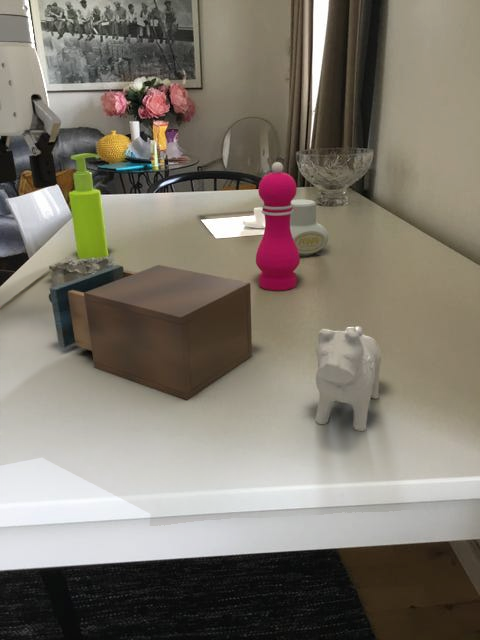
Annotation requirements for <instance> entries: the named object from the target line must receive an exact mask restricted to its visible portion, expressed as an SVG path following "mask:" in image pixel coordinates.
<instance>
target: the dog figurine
mask: <svg viewBox="0 0 480 640" xmlns="http://www.w3.org/2000/svg"><path fill="white" fill-rule="evenodd" d="M317 341H318V342H317V344H316V350H315V352H316V359H317V370H316V373H315V385H316V388H317V391H318V392H319V394H318V395H319V398H318V404H317V409H316V415H315V420H314V421H315V423H316V424H319V425H326V424H327V423H328V422H329V419H330V415H331V414H332V413H331V412H332V410H333V406H334V403H336V402H340V403H343V404H349V405H350V406H351V408H352V410H353V422H352V428H353V429H354V431H357V432H363V431H366V430H367V421H368V413H369V412H368V411H369V406H370V401H371V399H379V396H380V395H379V390H380V389H379V387H380V386H379V384H380V370H381V369H380V368H381V363H382V362H381V361H382V353H381V350H380V349H381V348H380V345H379V344H378V343H377V340H376V339H374V338H373V337H371V336H369V335H365V334H364V332H363V328H362V327H361V326H355V327H354V326H347V327H346V328H345V330H331V329H329V328H322V329H321V330H319V332H318V337H317Z"/></svg>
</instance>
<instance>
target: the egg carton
mask: <svg viewBox="0 0 480 640" xmlns="http://www.w3.org/2000/svg"><path fill="white" fill-rule="evenodd" d="M114 261H115V256H114V254H111V255H108V257H103V258H100V257H98V258H97V259H94V258H93V257H91V258H89V259H76V258H71V257H67V258H63V259H61V260H60V261H57V262H56V263H55V264H54V265H49V266H48V267H49V269H48V270H50V275H51V281H52V287H55V286H58V285H60V284H63V283H66V282H69V281H72V280H75V279H78V278H81V277H84V276H86V275H89V274H92V273H95V272H98V271H101V270H104V269H107V268H110V267H112V266H115V263H114Z"/></svg>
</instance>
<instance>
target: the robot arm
mask: <svg viewBox="0 0 480 640" xmlns="http://www.w3.org/2000/svg"><path fill="white" fill-rule="evenodd" d="M31 18H32V17H31V10H30V4H29V0H0V184H5V183H12V182H16V181H17V180H18V176H17V171H16V165H15V159H14V153H13V150H9V147H10V142H11V138H12V137H20V136H23V138H24V140H25V143H26V144H27V146H28V149H29V151H30V152H31V155H28V158H29V159H28V160H29V166H30V171H31V178H32V184H33V188H35V189H43V188H49V187H55V186H57V184H58V180H57V173H56V166H55V159H54V154H55V153H56V145H57V143H58V141H59V132H60V130H61V126H62V121H61V118H59V116H58V115H57V114H56V113H55V112H54V111H53V110H52V109H51V108H50V103H49V96H48V91H47V87H46V81H45V77H44V73H43V69H42V65H41V62H40V59H39V55H38V52H37V49H36V44H35V37H34V31H33V23H32V19H31ZM36 138H38V140H36Z"/></svg>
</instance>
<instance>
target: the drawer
mask: <svg viewBox="0 0 480 640" xmlns="http://www.w3.org/2000/svg"><path fill="white" fill-rule="evenodd" d="M138 272H139V271H138ZM138 272H137V271H132V270H127V269H126V270H124V265H121V264H114V266H112V267H110V268H107V269H104V270H101V271H98V272H95V273H92V274H89V275H86V276H84V277H81V278H78V279H75V280H72V281H69V282H66V283H63V284H60V285H58V286H55V287H54V286H52V287H49V294H48V301H49V302H50V303H51V306H52V312H53V319H54V324H55V330H56V336H57V343H58V346H59V347H63V348H67V347H68V346H71V345H74V344H75V346H76V347H78V348H82V349H85V350H86V351H87V350H88V351H91V352H92V347H91V340H90V333H89V326H88V319H87V312H86V304H85V297H84V293H85V292H87V291H90V290H93V289H95V288H98V287H101V286H103V285H106V284H109V283H111V282H114V281H117V280H119V279H122V278H125V277H127V276H130V275H133V274H135V273H138Z"/></svg>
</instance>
